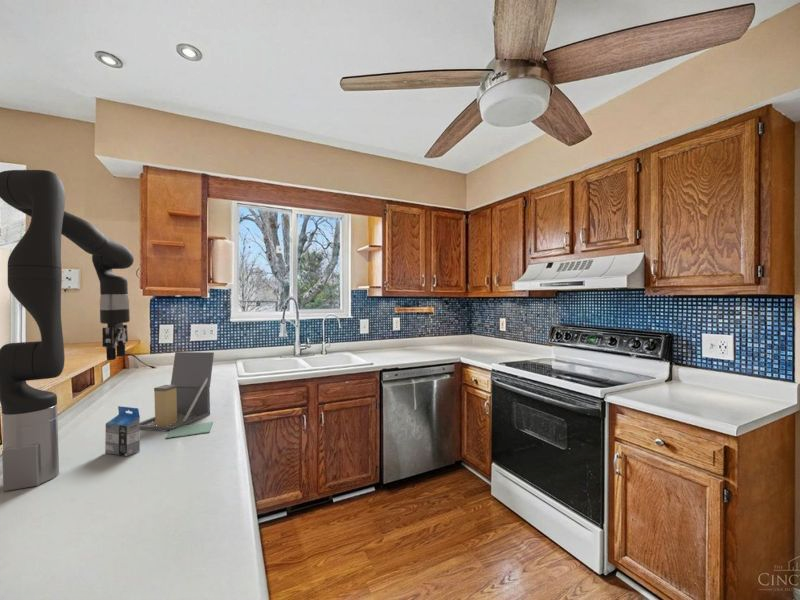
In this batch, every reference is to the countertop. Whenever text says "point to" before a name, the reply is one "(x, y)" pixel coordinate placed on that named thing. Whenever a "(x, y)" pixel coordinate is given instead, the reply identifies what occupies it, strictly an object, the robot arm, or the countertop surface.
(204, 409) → the case
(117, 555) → the countertop surface
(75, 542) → the countertop surface
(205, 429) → the mat
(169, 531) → the countertop surface
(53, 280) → the robot arm
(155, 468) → the countertop surface
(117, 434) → the label tape box
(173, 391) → the block
